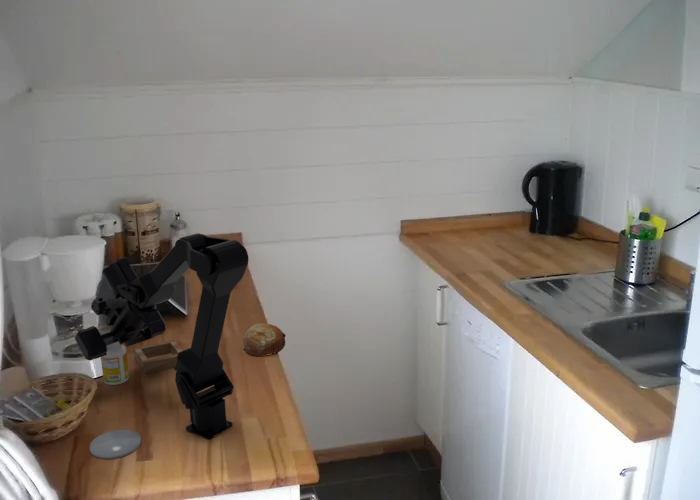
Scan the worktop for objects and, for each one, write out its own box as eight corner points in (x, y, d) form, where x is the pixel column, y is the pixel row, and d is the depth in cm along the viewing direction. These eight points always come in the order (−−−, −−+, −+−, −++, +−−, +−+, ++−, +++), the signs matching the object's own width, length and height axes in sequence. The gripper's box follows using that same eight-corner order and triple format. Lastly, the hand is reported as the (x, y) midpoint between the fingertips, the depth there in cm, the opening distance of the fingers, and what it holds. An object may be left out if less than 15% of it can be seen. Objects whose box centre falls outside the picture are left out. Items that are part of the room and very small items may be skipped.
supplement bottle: (120, 372, 163) (115, 332, 160) (134, 378, 159) (129, 338, 157) (98, 380, 159) (93, 339, 156) (112, 387, 155) (107, 346, 153)
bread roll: (246, 355, 179) (231, 331, 176) (281, 333, 181) (267, 308, 178) (258, 372, 170) (242, 346, 167) (295, 348, 172) (280, 322, 169)
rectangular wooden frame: (186, 364, 166) (185, 354, 165) (145, 373, 162) (144, 363, 161) (174, 349, 174) (173, 339, 173) (135, 358, 170) (134, 348, 169)
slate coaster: (151, 441, 135) (151, 438, 134) (111, 464, 127) (110, 461, 127) (119, 427, 139) (119, 424, 139) (79, 449, 132) (79, 446, 132)
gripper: (153, 271, 157) (129, 308, 167) (73, 295, 143) (52, 333, 153) (178, 314, 154) (152, 348, 164) (99, 342, 140) (76, 377, 150)
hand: (109, 350), depth 158 cm, fingers open, 8 cm apart
